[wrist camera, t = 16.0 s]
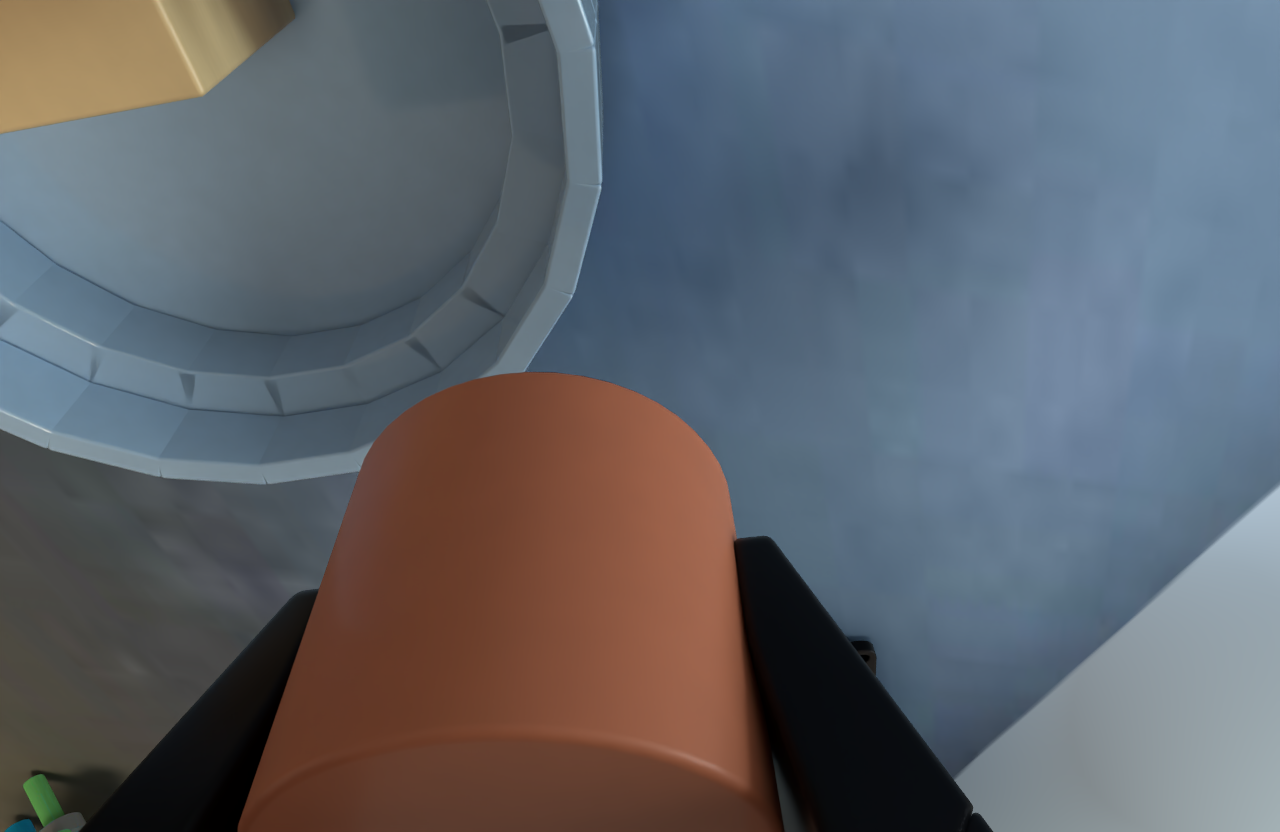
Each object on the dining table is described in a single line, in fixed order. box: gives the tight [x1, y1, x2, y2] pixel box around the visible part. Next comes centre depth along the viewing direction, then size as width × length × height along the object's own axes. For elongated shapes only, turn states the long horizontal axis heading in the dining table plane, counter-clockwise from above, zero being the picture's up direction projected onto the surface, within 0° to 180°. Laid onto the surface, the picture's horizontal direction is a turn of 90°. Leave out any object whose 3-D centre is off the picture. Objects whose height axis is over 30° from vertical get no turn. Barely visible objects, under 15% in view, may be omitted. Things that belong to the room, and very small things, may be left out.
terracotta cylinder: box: [238, 372, 785, 832], centre depth 8 cm, size 4×4×4 cm
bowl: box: [0, 0, 603, 485], centre depth 14 cm, size 15×15×4 cm
